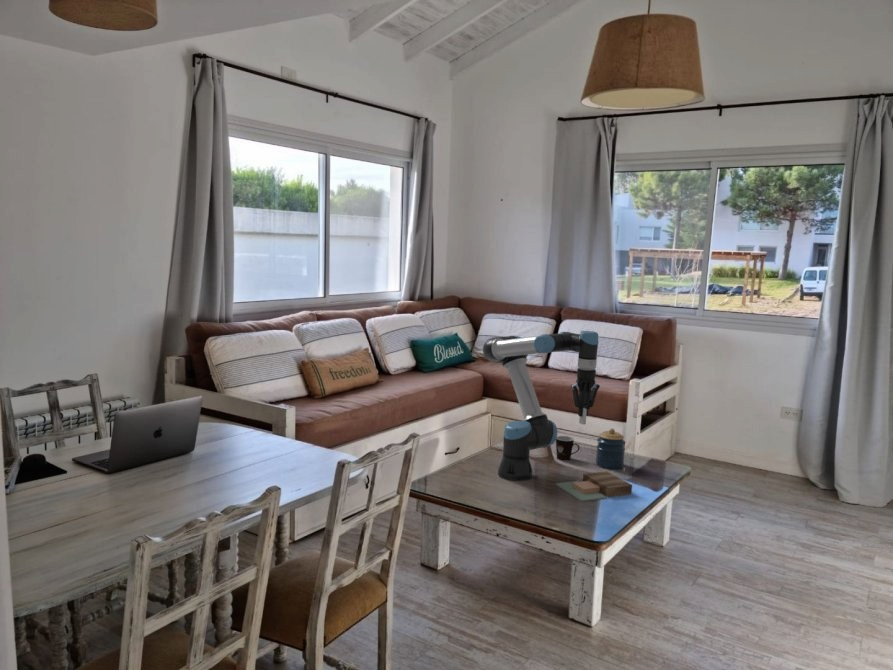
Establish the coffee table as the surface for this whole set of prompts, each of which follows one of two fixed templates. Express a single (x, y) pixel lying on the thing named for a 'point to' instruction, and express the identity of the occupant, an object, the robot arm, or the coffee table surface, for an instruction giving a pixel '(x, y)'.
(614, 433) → the canister
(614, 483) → the block
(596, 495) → the sage mat
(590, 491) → the terracotta tile
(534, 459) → the coffee table surface
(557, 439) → the coffee mug
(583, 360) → the robot arm
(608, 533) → the coffee table surface
